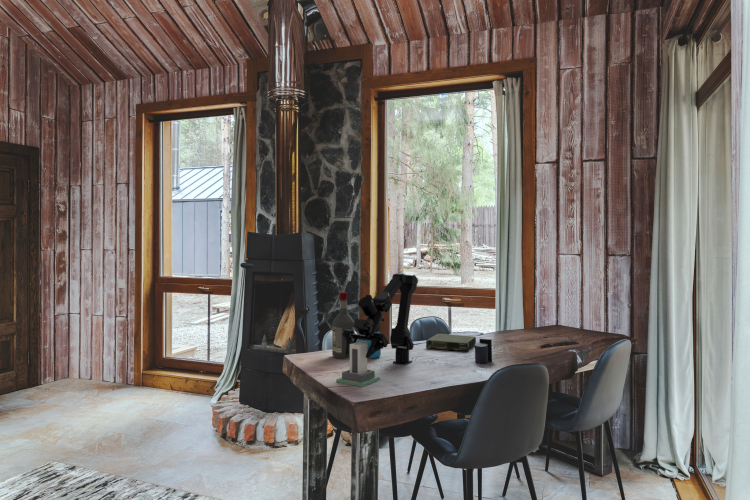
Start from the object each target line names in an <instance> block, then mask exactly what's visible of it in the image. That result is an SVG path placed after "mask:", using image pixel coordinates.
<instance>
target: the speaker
mask: <svg viewBox="0 0 750 500" xmlns="http://www.w3.org/2000/svg"><path fill="white" fill-rule="evenodd" d="M492 341H493V340H492V339H491V338H479V341H478V342H476V343H475V344H474V362H475V363H476V364H480V365H486V364H488V363H490V362H491V363H492V362H493V345H492Z"/></svg>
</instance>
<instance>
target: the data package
mask: <svg viewBox="0 0 750 500" xmlns="http://www.w3.org/2000/svg"><path fill="white" fill-rule="evenodd" d="M376 333H381V332H380V331H378V332H376ZM357 334H359V332H357ZM357 342H358V343H366V344H367V352H368V349H369V347H370V345H371V341H365V340H359V339H357ZM381 350H382V349H380V350H378V351H377V352H375V353H374V354H372V355H371V356H370V357H369V358H368V359H375V358H376V359H377V358H380V357H381V354H382V353H381V352H382V351H381Z"/></svg>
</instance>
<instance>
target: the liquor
mask: <svg viewBox="0 0 750 500" xmlns="http://www.w3.org/2000/svg"><path fill="white" fill-rule="evenodd" d="M348 312H349V311H348V292H347V291H344V292H339V312H338V314H337V315H336V316H335V317H334V319H332V323H331V326H332V327H331V329H332V330H331V333H332V334H331V335H332V337H331V338H332V339H331V340H332V342H331V343H332V345H331V346H332V348H331V351H332V356H333V358H335V359H339V360H344V359H345V360H346V359H350V353H349V354H348V355H346V340H345V338H344V337H343V336H342V333H343V331H344V330H353V331H354V333H355V331H356V328H355V327H353V324H354V320H355V319H354V318H352V316H351V315H350V314H349V313H348ZM355 334H356V333H355Z"/></svg>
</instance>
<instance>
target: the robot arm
mask: <svg viewBox="0 0 750 500" xmlns="http://www.w3.org/2000/svg"><path fill="white" fill-rule="evenodd" d="M391 277H392V278H391V279H390V281H389V282H388V283H387V284H386V286H385V288H384V289H383V290H382V292H380V293H378V294H376V295H375V296H374V297H373V296H372V295H371V294H366V295H365V296H363V297H361V298H360V299H359V300H358V302H357V306H358V307H359V309H360V310H361V312H362V313H363V315H364V316H365V317H366V319H361V318H354V319H353V320H354V324H353V327H355V329H356V332H357V333H354V331H353V330H344V331H343V333H342V336H343V337H344V338H345V340H346V355H348V354H349V353H350V344H353V343H356V342H358V339H359V340H365V341H371V345H370V347H369V349H368V352H367V354H366V358H367V359H370V358H369V357H370V356H371V355H372V354H374V353H375V352H377V351H378V350H380V349H381V350H382V349H384V348H387V347H388V344H389V343H390V345H391V349H395V353H394V355H395V356H394V357H395V360H393V361H392V363H393V364H397V365H398V364H399V365H408V364H410V363H412V362H413V360H410V351H412V350H414V344H415V343H414V342H413V340H412V338H411V332H410V329H409V326H408V325H409V321H410V320H409V319H410V312H411V311H410V310H411V303H412V295H413V294H414V293H415V291H416V290H417V287H418V283H419V279H418V277H417V276H416V275H415V274H404V273H398V272H397V273H393V274H392V276H391ZM398 291H399V292H400V298H399V303H398V305H399V307H398V312H397V313H398V314H397V318H396V320H397V321H396V325H395V327H392V329H391V331H390V332H391V333H390V337H389V338H390V339H389V340H390V342H389V340H388V338H387V337H386V335H385V333H381V332H380V330H379V329H378V328H379V326H380V324H381V322H385V317H384V314H383V313H387V312H389V311H390V309H391V308H392V305H393V303H392V300H393V299H394V297H395V295H396V293H397V292H398ZM358 332H359V334H358ZM376 332H380V333H376Z"/></svg>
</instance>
